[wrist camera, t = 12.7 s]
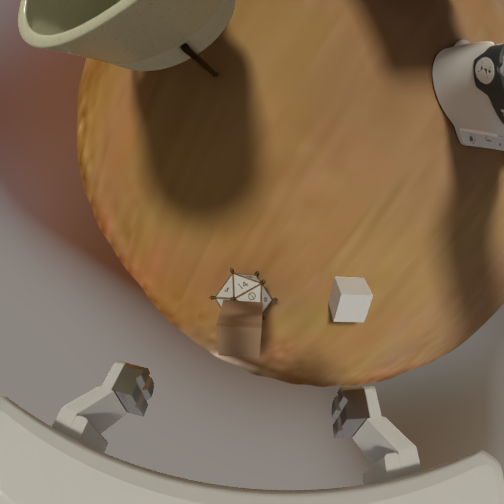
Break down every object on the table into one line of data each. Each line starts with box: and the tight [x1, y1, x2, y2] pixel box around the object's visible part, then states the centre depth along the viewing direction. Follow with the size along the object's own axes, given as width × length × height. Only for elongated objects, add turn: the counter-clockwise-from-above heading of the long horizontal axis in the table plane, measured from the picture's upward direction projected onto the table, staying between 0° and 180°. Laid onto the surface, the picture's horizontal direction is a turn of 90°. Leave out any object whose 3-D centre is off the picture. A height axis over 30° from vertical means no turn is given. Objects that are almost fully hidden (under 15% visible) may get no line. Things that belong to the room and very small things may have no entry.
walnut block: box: [217, 300, 263, 358], centre depth 33 cm, size 5×5×5 cm
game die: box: [209, 267, 278, 320], centre depth 38 cm, size 9×8×10 cm
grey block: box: [328, 276, 373, 322], centre depth 39 cm, size 5×5×5 cm
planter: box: [18, 0, 235, 77], centre depth 16 cm, size 15×16×23 cm
